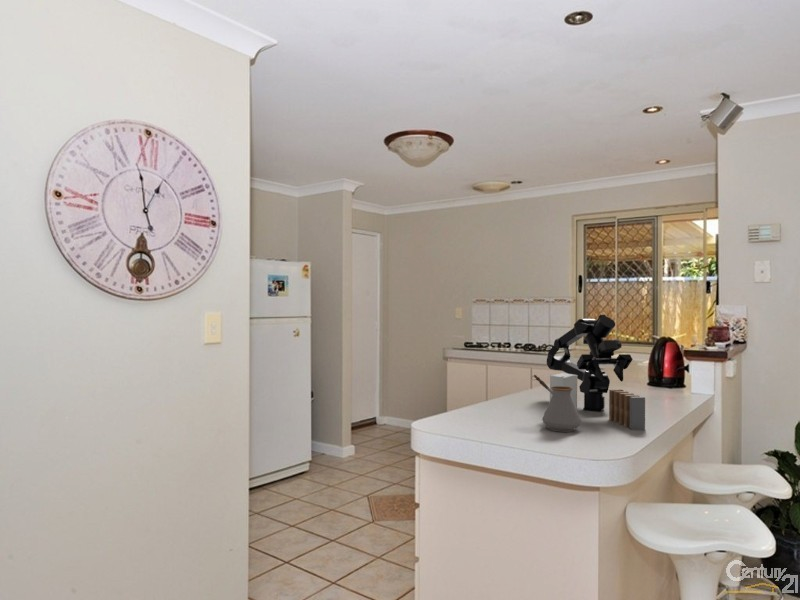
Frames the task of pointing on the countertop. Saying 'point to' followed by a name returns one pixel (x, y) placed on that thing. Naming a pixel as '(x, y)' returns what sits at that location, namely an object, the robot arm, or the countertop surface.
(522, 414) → the countertop surface
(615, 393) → the domino
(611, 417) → the domino
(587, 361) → the robot arm
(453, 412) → the countertop surface
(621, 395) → the domino
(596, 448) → the countertop surface
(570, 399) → the coffee pot
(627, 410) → the domino
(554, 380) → the skincare box
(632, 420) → the domino
